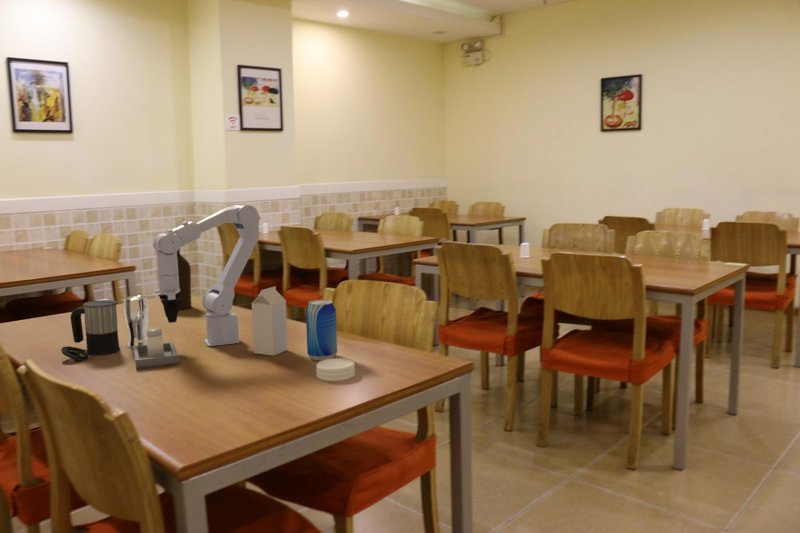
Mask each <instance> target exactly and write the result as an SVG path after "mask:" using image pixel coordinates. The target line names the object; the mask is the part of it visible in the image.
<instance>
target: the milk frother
mask: <svg viewBox="0 0 800 533" xmlns="http://www.w3.org/2000/svg"><path fill="white" fill-rule="evenodd" d="M117 303H118V301H116V300H112V299H103V300H102V299H101V300H100V299H99V300H92V301H86V302H85V303H83V304H82V306H79V307H77V308H75V309H74V310H72V312H71V313H70V323H71V330H72V337H73V338H72V339H73V342H74V343H77V344H78V343H82V342H83V341H84V331H83V323H82V322H83V321H82V315H84V323H85V324H84V325H85V327H84V328H85V337H86V338H85V341H86V349H82V348H79V347H75V346H70V345H69V346H68V345H67V346H63V347H62V348H61V350H60V351H61V354H62V355H64V356H65V357H66V358H69V359H73V360H74V361H78V360H85V359H88V358H89V355H107V354H112V353H116V352H118V351H120V350H121V346H120V343H119V342H120V341H119V333H118V332H119V330H118V328H119V327H118V317H117V316H118V315H117V313H118V312H117Z"/></svg>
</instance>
